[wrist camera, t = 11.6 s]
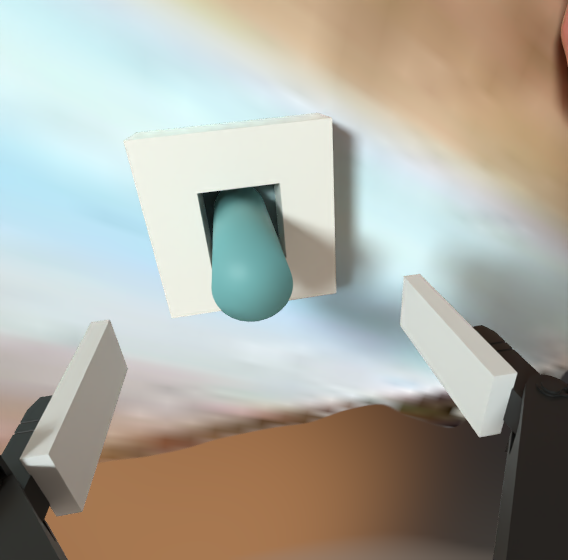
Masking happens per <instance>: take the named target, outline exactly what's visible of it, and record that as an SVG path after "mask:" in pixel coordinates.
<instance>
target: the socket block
mask: <svg viewBox="0 0 568 560" xmlns="http://www.w3.org/2000/svg"><path fill="white" fill-rule="evenodd" d="M124 145H125V149H126V152H127V156H128V160H129V163H130V167H131V171H132V174H133V178H134V182H135V185H136V189H137V193H138V196H139V200H140V204H141V207H142V211H143V215H144V218H145V222H146V226H147V229H148V233H149V237H150V240H151V244H152V248H153V251H154V255H155V259H156V262H157V266H158V270H159V273H160V277H161V281H162V285H163V288H164V292H165V296H166V299H167V303H168V307H169V310H170V314H171V318H177V317H184V316H190V315H197V314H203V313H210V312H216V311H222V310H221V309H220V308H219V307H218V306H217V304H216V303H215V301H214V298H213V295H212V290H211V285H212V250H213V246H212V241H211V236H210V231H209V225H208V220H207V215H206V210H205V204H204V199H203V194H202V193H204V192H212V191H220V190H228V189H236V188H244V187H253V186H261V185H269V184H274V192H275V202H276V212H277V222H278V233H279V237H278V240H279V242H280V245H281V248H282V250H283V253H284V256H285V258H286V261H287V263H288V266H289V269H290V271H291V274H292V278H293V290H292V294H291V297H290V299H289V300H295V299H301V298H308V297H314V296H321V295H327V294H334V293H336V261H335V219H334V176H333V134H332V118H331V117H328V116H325V115H322V114H319V113H311V114H302V115H293V116H284V117H274V118H265V119H256V120H247V121H237V122H228V123H219V124H210V125H200V126H191V127H182V128H173V129H163V130H154V131H145V132H136V133H135V134H133V135H132V136H130V137H129V138H127V139H125V140H124Z"/></svg>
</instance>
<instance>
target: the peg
mask: <svg viewBox="0 0 568 560" xmlns="http://www.w3.org/2000/svg"><path fill="white" fill-rule="evenodd" d="M211 290H212V295H213V298H214V301H215V303H216V304H217V306H218V307H219V308H220V309H221V310H222V311H223V312H224V313H225V314H227V315H228V316H230V317H232V318H234V319H237V320H241V321H260V320H264V319H267V318H269V317H271V316H273V315H275V314H277V313H278V312H279V311H280V310H281V309H282V308H283V307H284V306H285V305H286V304H287V302H288V301H289V299H290V297H291V294H292V290H293V278H292V274H291V271H290V269H289V266H288V263H287V261H286V258H285V256H284V253H283V250H282V248H281V245H280V242H279V240H278V237H277V235H276V232H275V229H274V227H273V224H272V221H271V219H270V216H269V214H268V211H267V208H266V206H265V203H264V201H263V198H262V197H261V195H260V194H259V193H258V192H257V191H256V190H255V189H254V188H252V187H244V188H236V189H228V190H222V191H221V192H220V193H219V194H218V196H217V198H216V200H215V203H214V215H213V250H212V285H211Z"/></svg>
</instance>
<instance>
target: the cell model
mask: <svg viewBox="0 0 568 560" xmlns="http://www.w3.org/2000/svg"><path fill="white" fill-rule="evenodd" d="M561 41H562V45H563V48H564V51H565V55H566V59H567V65H568V4H567V7H566V11H565V14H564V17H563V21H562V25H561Z"/></svg>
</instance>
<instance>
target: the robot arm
mask: <svg viewBox="0 0 568 560" xmlns="http://www.w3.org/2000/svg"><path fill="white" fill-rule="evenodd" d="M400 326H401V327H402V329H403V330H404V332H405V333H406V335H407V336H408V337H409V339H410V340H411V342H412V343H413V344H414V346H415V347H416V349H417V350H418V351H419V353H420V354H421V356H422V357H423V358H424V360H425V361H426V363H427V364H428V366H429V367H430V368H431V370H432V371H433V373H434V374H435V375H436V377H437V378H438V380H439V381H440V382H441V384H442V385H443V387H444V388H445V390H446V391H447V392H448V394H449V395H450V397H451V398H452V399H453V401H454V402H455V404H456V405H457V406H458V408H459V409H460V411H461V412H462V414H463V415H464V416H465V418H466V419H467V421H468V422H469V423H470V425H471V426H472V428H473V429H474V430H475V432H476V433H477V435H478V436H479V437H483V436H489V435H494V434H499V433H501V430H502V426H503V422H504V421H505V423H506V424H507V425H508V426H509V428H510V429H511V430H512V431H511V434H510V438H509V441H508V444H507V448H506V452H507V460H506V467H505V475H504V482H503V490H502V496H501V504H500V511H499V518H498V525H497V532H496V539H495V547H494V554H493V560H568V384H566V383H565V382H563V381H562V380H560V379H557V378H555V377H552V376H547V375H540V374H539V373H538V372H537V371H536V370H535V369H534V368H533V367H532V366H531V365H530V364H529V363H527V362H526V361H525V360H524V359H523V358H522V357H521V356H520V355H519V354H518V353H517V352H516V351H515V350H512V347H511V346H509V345H508V344H507V343H505V341H504V340H503V339H502V338H501V337H500V336H499V335H498V334H497V333H496V332H494V331H492V330H490V329H488V328H487V327H485V326H483V325H481V326H474V327H472V326H471V325H470V324H469V323H468V322H467V321H466V320H465V319H464V318H463V317H462V316H461V315H460V314H459V313H458V312H457V311H456V310H455V309H454V308H453V307H452V306H451V305H450V304H449V303H448V302H447V301H446V300H445V299H444V298H443V297H442V296H441V295H440V294H439V293H438V292H437V291H436V290H435V289H434V288H433V287H432V286H431V285H430V284H429V283H428V282H427V281H426V280H425V279H424V278H423V277H422V276H421V275H420V274H416V275H409V276H404V281H403V294H402V306H401V319H400ZM127 369H128V368H127V365H126V362H125V360H124V357H123V354H122V352H121V349H120V346H119V343H118V341H117V338H116V335H115V333H114V330H113V327H112V325H111V322H110V320H103V321H97V322H91V324H90V326H89V327H88V329H87V331H86V333H85V335H84V337H83V339H82V341H81V343H80V345H79V346H78V348H77V350H76V352H75V354H74V356H73V358H72V360H71V362H70V364H69V366H68V367H67V369H66V371H65V373H64V375H63V377H62V379H61V381H60V383H59V385H58V386H57V388H56V390H55V392H54V394H53V395H52V396H46V397H40V398H39V399H38V400H37V401H36V402H35V403H34V404H33V405H32V406H31V407H30V408H29V409H28V410H27V412H26V413H25V415H24V417H23V419H22V420H21V424H19V426H18V427H17V429H16V431H15V435H13V436H12V438H11V439H10V441H9V443H8V445H7V446H6V448H5V450H4V452H3V453H2V455H0V560H68V559H67V558H66V556H65V554H64V552H63V551H62V549H61V547H60V545H59V543H58V542H57V540H56V538H55V536H54V534H53V533H52V531H51V529H50V527H49V526H48V524H47V522H46V521H45V519H44V518H45V516H46V513H47V511H48V508H49V506H50V507H51V509H52V510H53V512H54V513H55V515H56V516H62V515H67V514H72V513H78V512H82V511H83V507H84V504H85V501H86V498H87V495H88V491H89V489H90V485H91V482H92V479H93V476H94V473H95V470H96V467H97V463H98V460H99V457H100V454H101V451H102V448H103V445H104V441H105V438H106V435H107V432H108V429H109V426H110V423H111V420H112V416H113V413H114V410H115V407H116V404H117V401H118V398H119V394H120V391H121V388H122V385H123V382H124V379H125V376H126V372H127Z"/></svg>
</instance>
